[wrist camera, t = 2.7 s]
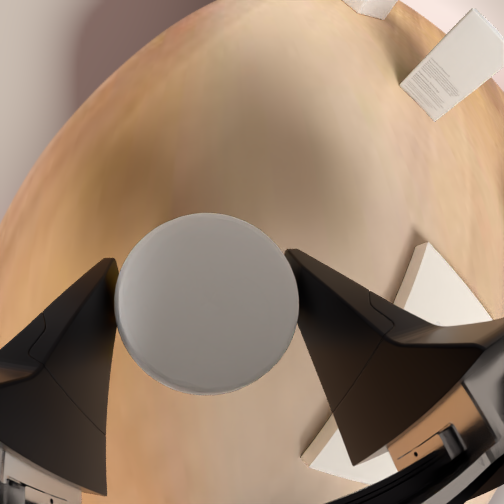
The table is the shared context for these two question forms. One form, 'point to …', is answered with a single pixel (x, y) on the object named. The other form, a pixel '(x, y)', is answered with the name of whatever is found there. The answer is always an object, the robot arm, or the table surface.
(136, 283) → the supplement bottle
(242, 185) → the table surface
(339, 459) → the socket plate
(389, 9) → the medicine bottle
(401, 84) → the skincare box
